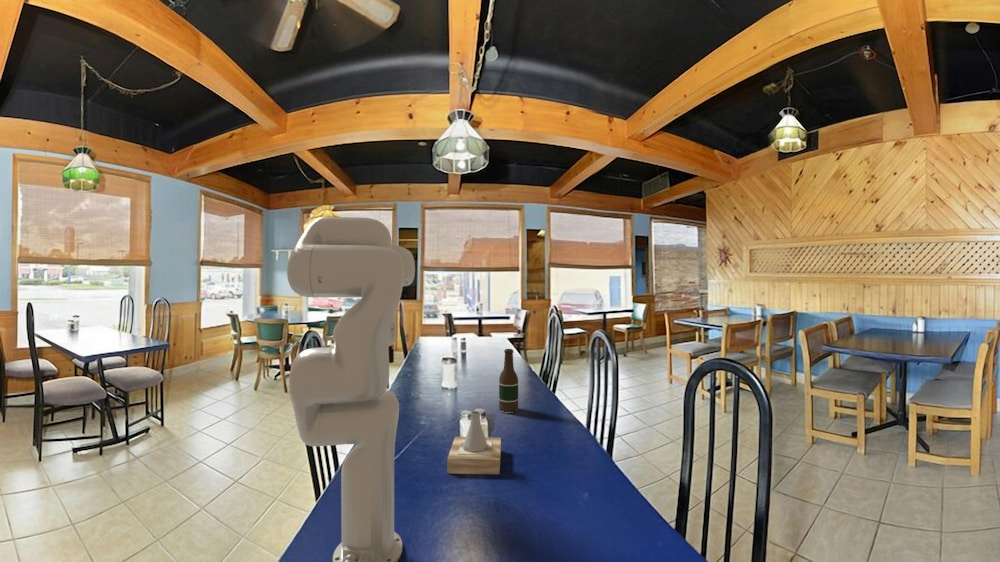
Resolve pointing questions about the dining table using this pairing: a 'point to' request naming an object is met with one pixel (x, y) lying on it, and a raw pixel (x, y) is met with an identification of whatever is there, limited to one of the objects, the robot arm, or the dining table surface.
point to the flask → (475, 434)
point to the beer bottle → (508, 385)
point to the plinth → (474, 458)
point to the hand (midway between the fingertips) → (382, 366)
